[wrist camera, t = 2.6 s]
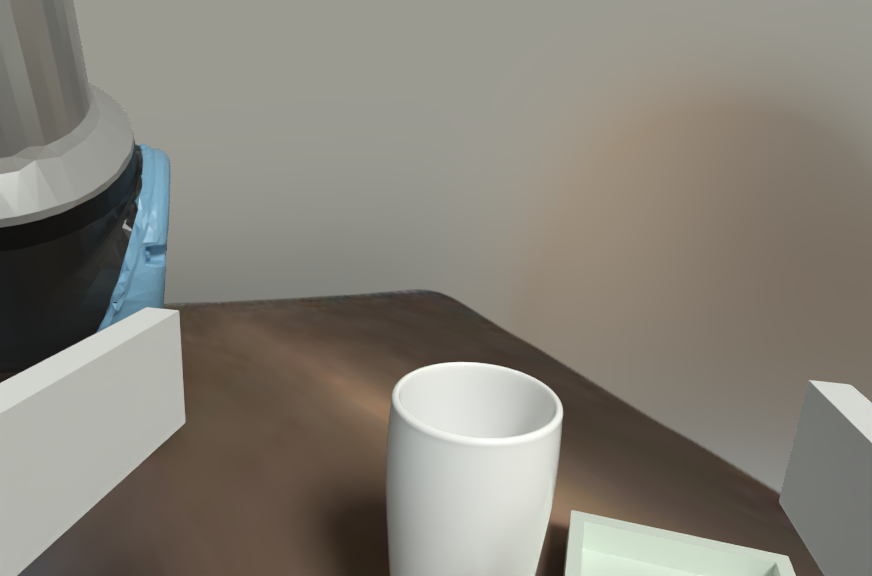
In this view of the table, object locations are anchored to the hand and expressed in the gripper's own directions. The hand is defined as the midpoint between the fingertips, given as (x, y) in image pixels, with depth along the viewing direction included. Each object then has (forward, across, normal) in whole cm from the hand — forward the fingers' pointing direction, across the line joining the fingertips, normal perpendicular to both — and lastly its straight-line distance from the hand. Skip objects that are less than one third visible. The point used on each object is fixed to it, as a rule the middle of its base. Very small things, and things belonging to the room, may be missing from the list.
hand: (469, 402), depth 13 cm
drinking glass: (+10, 0, -20) cm, 23 cm away
